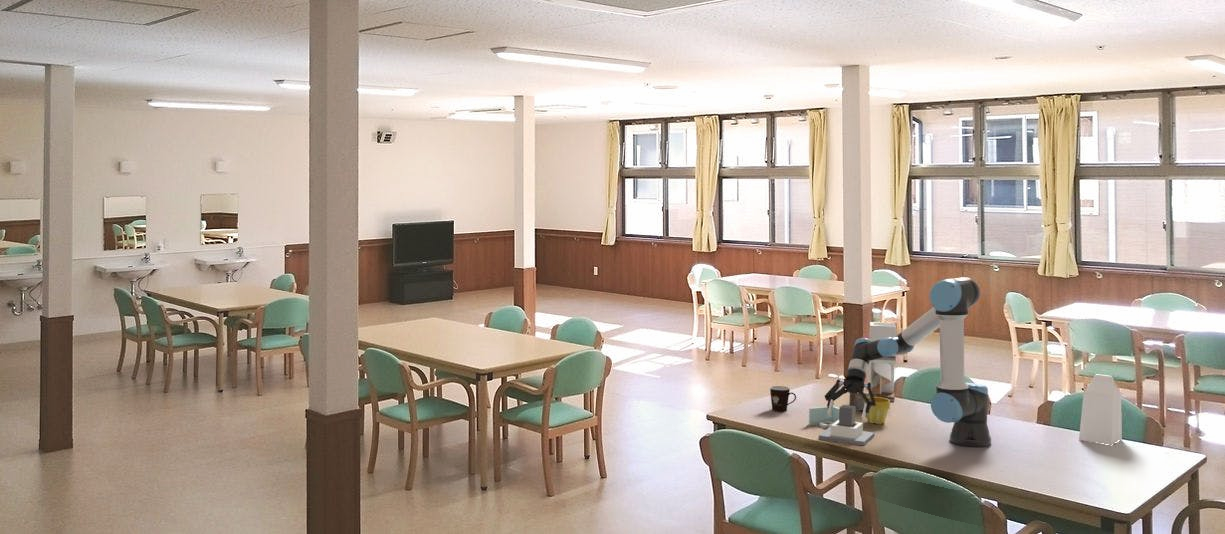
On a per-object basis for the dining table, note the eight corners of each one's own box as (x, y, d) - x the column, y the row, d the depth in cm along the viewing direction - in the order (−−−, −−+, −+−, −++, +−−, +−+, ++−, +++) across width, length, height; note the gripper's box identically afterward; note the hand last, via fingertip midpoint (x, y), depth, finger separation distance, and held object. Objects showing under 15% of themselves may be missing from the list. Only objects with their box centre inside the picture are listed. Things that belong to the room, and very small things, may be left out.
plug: (854, 433, 378) (855, 406, 377) (851, 436, 373) (852, 408, 372) (842, 431, 380) (843, 404, 379) (838, 434, 376) (839, 407, 375)
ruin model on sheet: (849, 411, 422) (849, 389, 421) (849, 409, 425) (850, 387, 424) (875, 412, 419) (876, 391, 418) (875, 411, 422) (876, 389, 421)
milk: (1078, 440, 374) (1081, 375, 371) (1089, 434, 382) (1092, 370, 379) (1111, 446, 365) (1114, 379, 363) (1121, 440, 373) (1125, 375, 371)
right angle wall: (808, 425, 397) (809, 408, 396) (833, 423, 401) (833, 405, 400) (824, 433, 386) (824, 414, 385) (849, 430, 390) (850, 412, 389)
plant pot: (886, 419, 405) (887, 396, 404) (891, 425, 395) (892, 402, 394) (862, 418, 406) (862, 396, 406) (865, 425, 396) (866, 401, 395)
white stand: (868, 400, 440) (870, 325, 437) (868, 395, 450) (870, 322, 447) (894, 401, 437) (896, 326, 434) (893, 396, 447) (895, 322, 444)
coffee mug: (765, 409, 423) (766, 386, 422) (781, 407, 427) (782, 385, 426) (780, 414, 413) (781, 392, 412) (797, 412, 417) (797, 390, 416)
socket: (874, 436, 379) (874, 422, 378) (864, 445, 366) (864, 431, 365) (830, 430, 388) (830, 417, 387) (818, 439, 375) (818, 425, 374)
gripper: (889, 381, 383) (879, 426, 371) (828, 374, 395) (816, 418, 383) (886, 370, 378) (876, 415, 366) (825, 364, 390) (813, 408, 378)
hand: (845, 417), depth 375 cm, fingers open, 13 cm apart
